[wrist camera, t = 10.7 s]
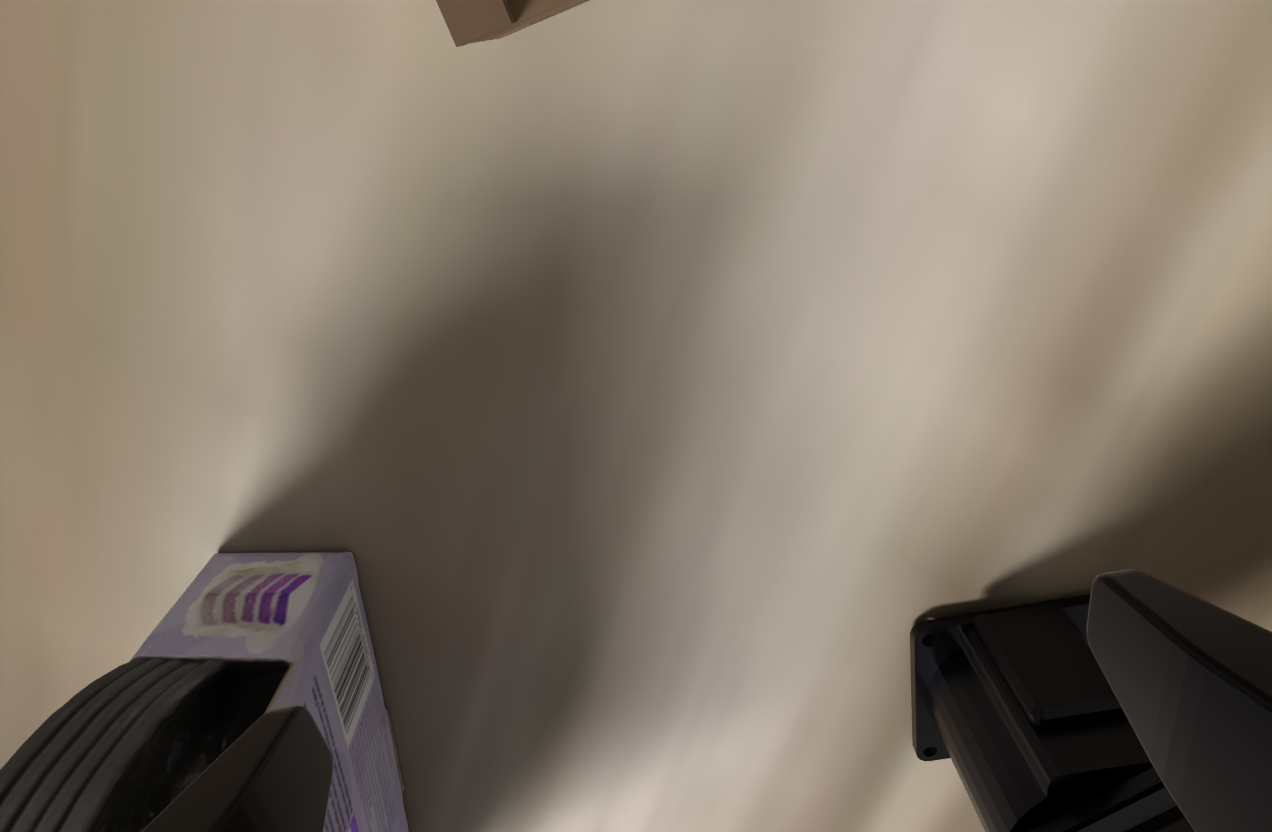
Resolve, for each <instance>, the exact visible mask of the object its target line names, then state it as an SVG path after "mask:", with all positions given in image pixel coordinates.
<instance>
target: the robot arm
mask: <svg viewBox="0 0 1272 832" xmlns="http://www.w3.org/2000/svg"><path fill="white" fill-rule="evenodd" d="M927 635H930V636H929V637H926V638H924V637H925V636H927ZM910 651H911V695H912V739H913V747H914V750H915V752H916V754H917V757H918V758H919V759H920V760H923V761H933V760H939V759H946V758H951V759H952V761H953V764H954V766H955V768H956V770H957V772H958V774H959V776H960V778H961V781H962V783H963V785H964V787H965V789H966V791H967V793H968V796H969V798H970V800H971V802H972V804H973V806H974V808H975V811H976V813H977V815H978V817H979V819H980V821H981V823H982V825H983V828H984V830H985V832H1272V632H1271V631H1269V630H1266V629H1264V628H1262V627H1260V626H1258V625H1256V624H1254V623H1252V622H1249V621H1247V620H1245V619H1243V618H1241V617H1239V616H1237V615H1234V614H1232V613H1230V612H1228V611H1226V610H1224V609H1222V608H1220V607H1217V606H1215V605H1213V604H1211V603H1209V602H1207V601H1205V600H1203V599H1200V598H1198V597H1196V596H1194V595H1192V594H1190V593H1188V592H1186V591H1183V590H1181V589H1179V588H1177V587H1175V586H1173V585H1171V584H1169V583H1166V582H1164V581H1162V580H1160V579H1158V578H1156V577H1154V576H1152V575H1149V574H1147V573H1145V572H1143V571H1140V570H1137V569H1125V570H1119V571H1113V572H1107V573H1101V574H1099V575H1097V576H1096V577H1095V578H1094V580H1093V582H1092V586H1091V594H1088V595H1082V596H1076V597H1070V598H1064V599H1057V600H1051V601H1045V602H1039V603H1033V604H1026V605H1020V606H1014V607H1008V608H1002V609H996V610H989V611H983V612H977V613H971V614H965V615H958V616H952V617H946V618H940V619H934V620H927V621H923V622H920V623H918V624H916V625H915V626H914V627H913V628H912V630H911V633H910ZM332 776H333V758H332V754H331V751H330V748H329V746H328V745H327V743H326V741H325V739H324V737H323V735H322V734H321V732H320V730H319V728H318V726H317V724H316V722H315V721H314V719H313V717H312V715H311V713H310V712H309V710H308V709H306V708H305V707H303V706H291V707H285V708H279V709H273V710H270V711H268V712H266V713H264V714H263V715H262V716H261V717H260V718H259V719H258V720H257V721H256V722H255V723H253V724H252V725H251V726H250V727H249V728H248V729H247V730H246V731H245V732H244V733H243V734H242V735H241V736H240V737H239V738H238V739H237V740H236V741H235V742H234V743H233V744H232V745H231V746H230V747H229V748H227V749H226V750H225V751H224V752H223V753H222V754H221V755H220V756H219V757H218V758H217V759H216V760H215V761H214V762H213V763H212V764H211V765H210V766H209V767H208V768H207V769H206V770H205V771H204V772H203V773H201V774H200V775H199V776H198V777H197V778H196V779H195V780H194V781H193V782H192V783H191V784H190V785H189V786H188V787H187V788H186V789H185V790H184V791H183V792H182V793H181V794H180V795H179V796H178V797H177V798H175V799H174V800H173V801H172V802H171V803H170V804H169V805H168V806H167V807H166V808H165V809H164V810H163V811H162V812H161V813H160V814H159V815H158V816H157V817H156V818H155V819H154V820H153V821H152V822H151V823H149V824H148V825H147V826H146V827H145V828H144V829H143V830H142V831H141V832H323V831H324V825H325V819H326V813H327V807H328V801H329V795H330V788H331V782H332Z"/></svg>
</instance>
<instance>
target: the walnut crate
mask: <svg viewBox="0 0 1272 832" xmlns="http://www.w3.org/2000/svg"><path fill="white" fill-rule="evenodd" d="M436 1H437V3H438V5H439V8H440V10H441V12H442V15H443V17H444V19H445V22H446V24H447V26H448V29H449V31H450V33H451V35H452V38H453V40H454V42H455V45H456V47H458V46H464V45H466V44H468V43H474V42H480V41H486V40H493V39H499V38H502V37H504V36H507V35H509V34H512V33H514V32H516V31H519V30H521V29H523V28H526V27H528V26H530V25H533V24H535V23H537V22H540V21H542V20H544V19H547V18H549V17H551V16H554V15H556V14H558V13H561V12H563V11H566V10H568V9H570V8H573V7H575V6H577V5H580V4H582V3H584V2H587V1H589V0H436Z"/></svg>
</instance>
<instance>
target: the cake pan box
mask: <svg viewBox="0 0 1272 832" xmlns="http://www.w3.org/2000/svg"><path fill="white" fill-rule="evenodd" d="M358 580H359V576H358V572H357V567H356V563H355V560H354V556H353V553H352V552H349V551H341V552H277V553H273V552H252V553H216V554H214V555H213V556H212V558H211V559H210V560H209V562H208V563H207V564H206V565H205V567H204V568H203V569H202V571H201V572H200V573H199V574H198V575H197V577H196V578H195V579H194V581H193V582H192V583H191V584H190V586H189V587H188V588H187V589H186V591H185V592H184V593H183V594H182V596H181V597H180V598H179V599H178V601H177V602H176V603H175V604H174V606H173V607H172V608H171V609H170V610H169V612H168V613H167V614H166V615H165V617H164V618H163V619H162V620H161V622H160V623H159V624H158V625H157V627H156V628H155V629H154V630H153V632H152V633H151V634H150V635H149V636H148V638H147V639H146V640H145V642H144V643H143V645H142V646H141V647H140V649H139V650H138V651H137V653H136V654H135V655H134V656H133V658H132V659H131V660H130V662H128V663H126V664H123V665H121V666H119V667H117V668H116V669H114V670H112V671H110V672H109V673H107V674H105V675H104V676H102V677H100V678H99V679H97V680H95V681H94V682H92V683H91V684H89V685H88V686H87V687H85V688H84V689H83V690H81V691H80V692H79V693H77V694H76V695H75V696H73V697H72V698H71V699H70V700H69V701H68V702H67V703H66V704H65V705H63V706H62V707H61V708H60V709H58V710H57V711H56V712H54V713H53V714H52V715H51V716H50V717H49V718H48V719H47V720H46V721H45V722H44V723H43V724H42V725H41V726H40V727H39V728H38V729H37V730H36V731H35V732H34V733H33V734H32V735H31V736H30V737H29V738H28V739H27V740H26V741H25V743H24V744H23V745H22V746H21V747H20V748H19V749H18V750H17V751H16V753H15V754H14V755H13V756H12V757H11V758H10V759H9V761H8V762H7V763H6V764H5V765H4V766H3V768H2V769H1V770H0V832H141V831H142V830H143V829H144V828H145V827H146V826H147V825H148V824H149V823H151V822H152V821H153V820H154V819H155V818H156V817H157V816H158V815H159V814H160V813H161V812H162V811H163V810H164V809H165V808H166V807H167V806H168V805H169V804H170V803H171V802H172V801H173V800H174V799H175V798H177V797H178V796H179V795H180V794H181V793H182V792H183V791H184V790H185V789H186V788H187V787H188V786H189V785H190V784H191V783H192V782H193V781H194V780H195V779H196V778H197V777H198V776H199V775H200V774H201V773H203V772H204V771H205V770H206V769H207V768H208V767H209V766H210V765H211V764H212V763H213V762H214V761H215V760H216V759H217V758H218V757H219V756H220V755H221V754H222V753H223V752H224V751H225V750H226V749H227V748H229V747H230V746H231V745H232V744H233V743H234V742H235V741H236V740H237V739H238V738H239V737H240V736H241V735H242V734H243V733H244V732H245V731H246V730H247V729H248V728H249V727H250V726H251V725H252V724H253V723H255V722H256V721H257V720H258V719H259V718H260V717H261V716H262V715H263V714H264V713H266V712H268V711H270V710H273V709H279V708H285V707H291V706H303V707H305V708H306V709H308V710H309V712H310V713H311V715H312V717H313V719H314V721H315V722H316V724H317V726H318V728H319V730H320V732H321V734H322V735H323V737H324V739H325V741H326V743H327V745H328V746H329V748H330V751H331V754H332V758H333V776H332V782H331V788H330V795H329V801H328V807H327V813H326V819H325V825H324V831H323V832H409V830H408V824H407V819H406V813H405V809H404V805H403V796H402V792H403V791H404V786H403V781H402V776H401V771H400V766H399V761H398V755H397V751H396V744H395V741H394V736H393V730H392V725H391V720H390V716H389V711H388V710H387V709H386V708H385V706H384V700H383V694H382V689H381V684H380V680H379V675H378V670H377V665H376V660H375V655H374V651H373V646H372V642H371V637H370V633H369V628H368V624H367V619H366V615H365V610H364V605H363V601H362V597H361V592H360V588H359V584H358Z"/></svg>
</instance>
